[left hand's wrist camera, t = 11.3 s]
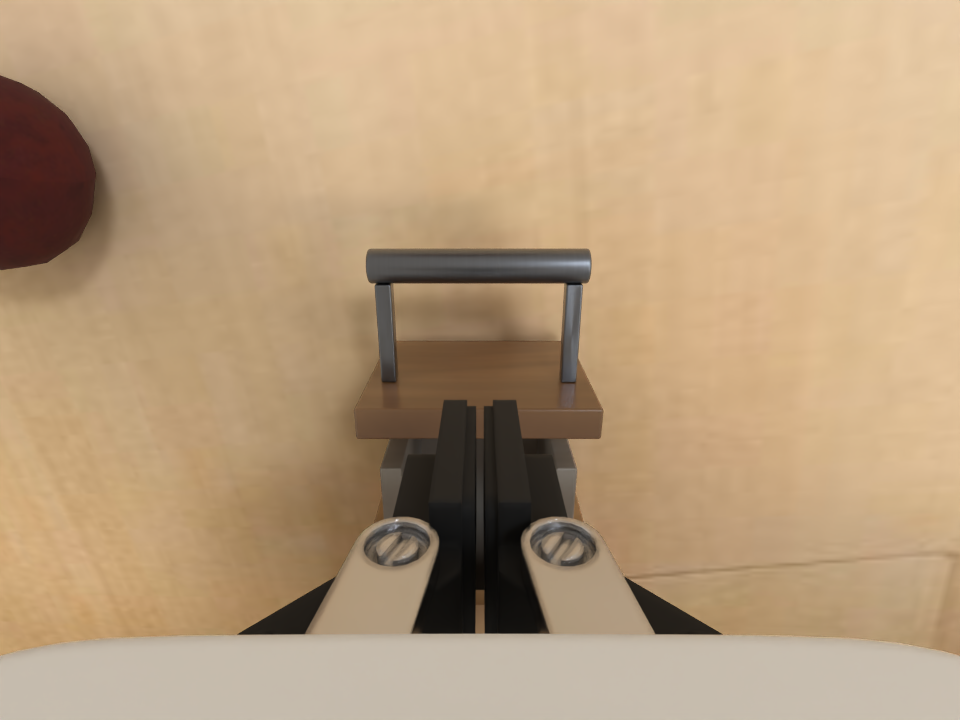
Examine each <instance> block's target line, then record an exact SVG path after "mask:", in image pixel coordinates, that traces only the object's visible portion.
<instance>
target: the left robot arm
mask: <svg viewBox="0 0 960 720" xmlns="http://www.w3.org/2000/svg"><path fill="white" fill-rule="evenodd" d="M476 521H477V483H476V406H467V400H444V402H443V409H442V415H441V422H440V429H439V435H438V442H437V449H436V454H409V455H408V456H407V460H406V464H405V468H404V472H403V476H402V480H401V484H400V488H399V492H398V496H397V501H396V505H395V509H394V513H393V517H392V518H388V519H384V520H381V521H379V522H376V523H374V524H372V525H371V526H369V527H368V528H366V529H365V530H364V531H363V532H362V533H361V534H360V536H359V537H358V538H357V540H356V541H355V543H354V545H353V547H352V549H351V550H350V552H349V554H348V556H347V558H346V560H345V561H344V563H343V565H342V567H341V569H340V571H339V572H338V574H337V576H336V577H334V578H333V579H331V580H329V581H328V582H326V583H324V584H322V585H321V586H319V587H317V588H316V589H314V590H312V591H311V592H309V593H307V594H305V595H304V596H302V597H300V598H299V599H297V600H295V601H293V602H292V603H290V604H288V605H287V606H285V607H283V608H282V609H280V610H278V611H276V612H275V613H273V614H271V615H270V616H268V617H266V618H264V619H263V620H261V621H259V622H258V623H256V624H254V625H253V626H251V627H249V628H247V629H246V630H244V631H242V632H241V633H239V634H237V635H172V636H145V637H118V638H99V639H90V640H81V641H72V642H62V643H56V644H51V645H46V646H40V647H35V648H30V649H24V650H19V651H15V652H11V653H8V654H4V655H1V656H0V720H960V656H959V655H956V654H952V653H949V652H945V651H941V650H936V649H930V648H925V647H920V646H914V645H909V644H904V643H898V642H888V641H879V640H870V639H861V638H842V637H815V636H788V635H723V634H721V633H719V632H718V631H716V630H714V629H713V628H711V627H709V626H707V625H706V624H704V623H702V622H701V621H699V620H697V619H696V618H694V617H692V616H690V615H689V614H687V613H685V612H684V611H682V610H680V609H678V608H677V607H675V606H673V605H672V604H670V603H668V602H667V601H665V600H663V599H661V598H660V597H658V596H656V595H655V594H653V593H651V592H649V591H648V590H646V589H644V588H643V587H641V586H639V585H638V584H636V583H634V582H632V581H631V580H629V579H627V578H626V577H624V576H623V574H622V572H621V571H620V569H619V567H618V565H617V563H616V561H615V560H614V558H613V556H612V554H611V552H610V550H609V549H608V547H607V545H606V543H605V541H604V540H603V538H602V537H601V536H600V534H599V533H598V532H597V531H596V530H595V529H594V528H592V527H591V526H589V525H588V524H586V523H584V522H581V521H579V520H576V519H572V518H568V517H567V513H566V509H565V505H564V501H563V496H562V492H561V488H560V484H559V480H558V476H557V472H556V468H555V464H554V460H553V456H552V455H551V454H524V449H523V442H522V435H521V429H520V422H519V415H518V409H517V402H516V400H493V406H484V483H483V521H484V625H485V634H475V625H476Z"/></svg>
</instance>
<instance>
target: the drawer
mask: <svg viewBox="0 0 960 720" xmlns="http://www.w3.org/2000/svg"><path fill="white" fill-rule="evenodd" d="M366 273H367V278H368V281H369V282H370V283H376V285H375V297H376V312H377V326H378V340H379V354H380V359H379V361H378V363H377V365H376V367H375V369H374V371H373V373H372V375H371V377H370V379H369V381H368V383H367V385H366V387H365V389H364V391H363V393H362V395H361V397H360V399H359V401H358V403H357V405H356V407H355V409H354V416H355V427H356V436H357V438H358V439H390V440H389V443H388V446H387V449H386V452H385V455H384V458H383V461H382V465H381V468H380V475H381V488H382V501H383V514H384V519H388V518H392V517H393V513H394V509H395V505H396V501H397V496H398V492H399V488H400V484H401V480H402V476H403V472H404V468H405V464H406V460H407V456H408V455H409V454H436V449H437V442H438V435H439V429H440V422H441V415H442V409H443V402H444V400H467V406H476V483H477V521H476V590H484V521H483V483H484V406H493V400H516V402H517V409H518V415H519V422H520V429H521V435H522V442H523V449H524V454H551V455H552V456H553V460H554V464H555V468H556V472H557V476H558V480H559V484H560V488H561V492H562V496H563V501H564V505H565V509H566V513H567V517H568V518H572V519H574V505H575V492H576V479H577V467H576V464H575V461H574V458H573V454H572V451H571V448H570V445H569V442H568V439H599V438H600V437H601V431H602V420H603V409H602V407H601V405H600V403H599V400H598V398H597V396H596V394H595V392H594V390H593V388H592V386H591V384H590V382H589V380H588V378H587V376H586V374H585V372H584V370H583V368H582V366H581V364H580V362H579V360H578V349H579V334H580V320H581V305H582V291H583V285H582V284H581V283H588V282H589V279H590V275H591V253H590V251H589V250H588V249H369V250H368V252H367V255H366ZM393 283H564V300H563V318H562V336H561V341H396V326H395V309H394V292H393Z"/></svg>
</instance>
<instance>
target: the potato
mask: <svg viewBox="0 0 960 720" xmlns="http://www.w3.org/2000/svg"><path fill="white" fill-rule="evenodd" d="M95 177H96V172H95V169H94V165H93V162H92V158H91V154H90V151H89V147H88V145H87V144H86V142H85V141H84V139H83V138H82V136H81V135H80V133H79V132H78V130H77V129H76V127H75V126H74V124H73V123H72V121H71V120H70V119H69V118H68V116H67V115H66V114H65V113H64V112H63V111H61V110H60V109H59V108H58V107H56V106H55V105H54V104H53V103H51V102H50V101H49V100H47V99H46V98H45V97H44V96H42V95H41V94H40V93H39V92H37V91H35V90H33V89H31V88H29V87H27V86H25V85H24V84H22V83H19V82H16V81H14V80H11V79H8V78H6V77H3V76H0V270H5V269H12V268H20V267H26V266H32V265H37V264H42V263H47V262H49V261H50V260H52V259H53V258H55V257H56V256H58V255H59V254H61V253H62V252H64V251H65V250H67V249H68V248H69V247H71V246H72V245H73V244H75V243H76V242H77V241H79V239H80V237H81V235H82V233H83V230H84V228H85V226H86V224H87V222H88V220H89V218H90V216H91V214H92V208H93V199H94V188H95Z"/></svg>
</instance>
